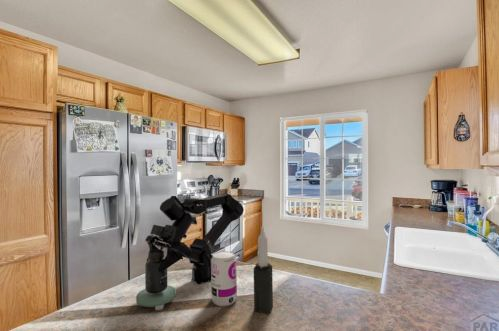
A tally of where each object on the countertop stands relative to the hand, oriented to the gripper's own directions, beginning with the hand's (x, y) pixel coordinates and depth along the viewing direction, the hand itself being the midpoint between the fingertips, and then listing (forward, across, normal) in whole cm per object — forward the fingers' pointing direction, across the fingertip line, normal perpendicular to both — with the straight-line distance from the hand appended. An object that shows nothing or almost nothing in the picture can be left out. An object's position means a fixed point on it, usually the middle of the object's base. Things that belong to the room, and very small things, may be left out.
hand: (152, 269), depth 85 cm
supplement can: (-2, +17, +18) cm, 25 cm away
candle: (-4, +30, +21) cm, 37 cm away
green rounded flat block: (+7, 0, +9) cm, 11 cm away
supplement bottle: (+4, 0, +6) cm, 7 cm away
